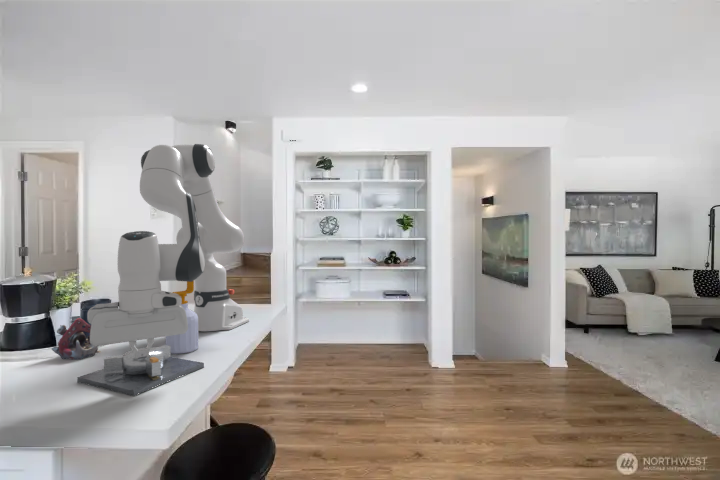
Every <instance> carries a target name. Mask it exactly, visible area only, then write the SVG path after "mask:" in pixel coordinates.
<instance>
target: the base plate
mask: <svg viewBox="0 0 720 480" xmlns="http://www.w3.org/2000/svg"><path fill="white" fill-rule="evenodd" d="M204 367H205V363H204V362H201V361H197V360H196V361H195V360H191V359H190V360H189V359H184V358H179V357H174V356H173V357H172V356H171V357H170V358H167V359H165V360H164V366H163V367H162V368H161V375H157V376H153V377H152V376H150V375H149V374H147V373H145V374H136V375H131V374H125V373H124V372H123V371H112V372H104V368H102V369H98V370H96V371H92V372H89V373H86V374H83V375H80V376H78V377H77V379H76V380H77V383H79V384H84V385H88V386H91V387H96V388H99V389H104V390H107V391H111V392H116V393H119V394H124V395H127V396H131V395H132V397H135V395H136V396H137V394H138V393H140V394H142V393H141V392H143V391H145V392H147V391H146V390H148V389H150V388H152V387H155V386H157V385H159V384H162V383H164V382H167V381H169V380H172V379H174V380H176V379H175V378H177V377H179V376H182V375H184V376H186V375H188V373H189V374H191V373H193V371H194V372H196V371H198V370H200V369H203V368H204ZM195 370H196V371H195ZM190 372H191V373H190ZM185 374H186V375H185ZM182 377H183V376H182ZM179 378H180V377H179ZM177 379H178V378H177ZM172 381H173V380H172ZM169 382H170V381H169ZM167 383H168V382H167ZM162 385H163V384H162ZM157 387H158V386H157ZM155 388H156V387H155ZM150 390H151V389H150ZM148 391H149V390H148ZM143 393H144V392H143ZM138 395H139V394H138Z"/></svg>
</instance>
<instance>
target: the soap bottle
mask: <svg viewBox="0 0 720 480" xmlns="http://www.w3.org/2000/svg"><path fill="white" fill-rule="evenodd" d="M194 291H195V280H194V281H192V282H188V281H186V289H185V290H180V291H173V292H172V291H171V293H176V294H178V295H180V296H181V299H182V303H181V306H182V307H183V308H184V309H185V312H186V316H187V322H188V330H187V331H186V333H185V334H179V335H172V336H165V345H170V348H171V355H172V354H173V355H181V354H188V353H191V352H193V351H194V352H195V351H196V350H198V348H199V331H198V316H197V314H196V313H195V312H194V310H191V309H190V308H189V306H188V305H189V303H188V300H186V297H188V295H189V294H192V293H194Z"/></svg>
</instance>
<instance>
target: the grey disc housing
mask: <svg viewBox="0 0 720 480" xmlns="http://www.w3.org/2000/svg"><path fill="white" fill-rule="evenodd" d="M145 348H146V347H139V348H137V349H138V350H140V349H145ZM171 355H172V354H171V348H170V345H166V344H162V345H160V346H157V347H156V346H152V347H151V348H150V350H149V357H146V358H140V359H135V352H134V351H133V350H132V349H131V350H129V351H126V352H124V353H123V354H122V355H114V356H113V355H111V356H106V357H105V358H103V369H104V372H112V371H123V372H124V373H125V374H131V375H136V374H145V373H147V374H149V375H150V376H152V377H153V376H157V375H161V368H162V367H163V366H164V360H165V359H167V358H170V357H172V356H171Z"/></svg>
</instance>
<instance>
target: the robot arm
mask: <svg viewBox="0 0 720 480" xmlns="http://www.w3.org/2000/svg"><path fill="white" fill-rule="evenodd" d="M215 161H216V160H215V156H214V154H213V151H212V149H211V148H210V147H209V146H208V145H206V144H201V143H194V144H176V145H172V146H171V145H168V144H158V145H155V146H153V147H151V149H149V150H146V151H145V152H143V154H142V155H141V158H140V167H141V174H140V180H139V193H140V196H141V197H142V199H143V200H144V202H145V203H146V204H148V205H149V206H151V207H152V208H154V209H156V210H159V211H161V212H164V213H167V214H171V215H174V216H176V217H177V218H179V219H180V220H181V228H179V230H178V231H177V234H176V240H175V241H176V243H159V241H158V236H157V233H155V232H152V231H146V230H138V231H130V232H126V233H123V234H122V235H121V236H120V238H119V241H118V242H119V243H118V249H117V273H118V275H119V283H118V288H117V289H118V297H117V298H118V301H116V302H109V303H108V302H107V303H97V304H95V305H94V306H91V307H90V308H89V309H88V311H87V317H86V318H87V322H88V324H89V325H90V326H91V331H90V333H89V335H90V343H91V344H92V345H93V346H98V347H100V346H101V347H102V346H106V345H107V346H108V345H114V344H121V343H129V347H130V349H131V350H133V351H134V352H135V359H140V358H146V357H149V350H150V348H151V347H153V345H154V343H155V339H156V338H163V337H165V338H166V336H172V335H179V334H185V333H186V331H187V330H188V322H187V316H186V312H185V309H184V308H183V307H182V306H181V303H182V299H181V296H180V295H178V294H176V293H172V291H171V292H170V291H165V290H162V284H161V282H168V281H169V282H174V281H175V282H176V281H177V282H187V281H188V282H192V281H194V290H193V300H194V309H193V311H194V312H195V313H196V314H197V316H198V332H215V331H216V332H217V331H227V330H234V329H235V328H236V327H237V328H238V327H239V326H241V325H244V324H246V323H249V322H250V318H248V317H245V316H244V313H243V312H244V311H243V307H242V306H241V305H240V304H239V303H237V302H236V301H234V300H233V299H231V296H230V295H234V294H235V289H231V288H230V289H228V288H227V269H226V267H224V265H222V264H220V263H219V262H218V261H216V259H215V257H214V254H230V253H235V252H239V251H240V250H241V249H242V247H243V246H244V242H245V234H244V232H243V230H242V228H241V227H239V225H237V224H235V223H233V222H232V221H230V219H228V218H227V216H226V215H225V214H224V213H223V212H222V210H221V208H220V206H219V203H218V201H217V197H216V194H215V191H214V186H213V183H212V180H211V177H210V175H212V173H213V172H214V171H215V168H216V167H215V165H216V162H215ZM142 340H146V342H147V345H146V347H144V348H145V349H140V350H138V349H139V348H137V347H136V346H137V341H142Z"/></svg>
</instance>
